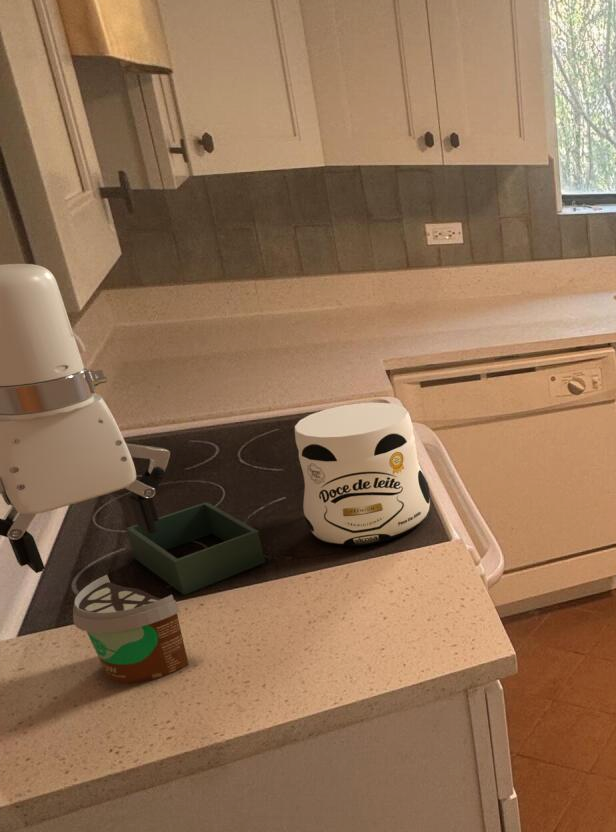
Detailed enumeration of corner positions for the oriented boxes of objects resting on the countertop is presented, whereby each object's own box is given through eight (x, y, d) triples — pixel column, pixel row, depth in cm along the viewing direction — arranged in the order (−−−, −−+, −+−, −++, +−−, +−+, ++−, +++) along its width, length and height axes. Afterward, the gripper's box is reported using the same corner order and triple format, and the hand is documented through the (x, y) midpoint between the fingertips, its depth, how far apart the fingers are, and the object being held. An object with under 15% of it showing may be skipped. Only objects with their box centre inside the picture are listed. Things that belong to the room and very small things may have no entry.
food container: (69, 678, 87) (41, 601, 84) (128, 647, 93) (103, 573, 89) (141, 706, 83) (114, 626, 79) (198, 671, 88) (175, 595, 85)
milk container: (355, 568, 109) (330, 449, 103) (286, 537, 118) (260, 425, 112) (457, 519, 123) (441, 412, 117) (389, 495, 132) (371, 393, 126)
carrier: (136, 562, 111) (125, 528, 109) (215, 534, 119) (206, 501, 117) (185, 598, 102) (174, 561, 100) (266, 565, 110) (258, 530, 108)
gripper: (131, 367, 85) (173, 508, 91) (-92, 411, 72) (-25, 573, 78) (158, 378, 81) (201, 525, 87) (-72, 426, 68) (-3, 597, 74)
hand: (94, 548), depth 82 cm, fingers open, 9 cm apart
